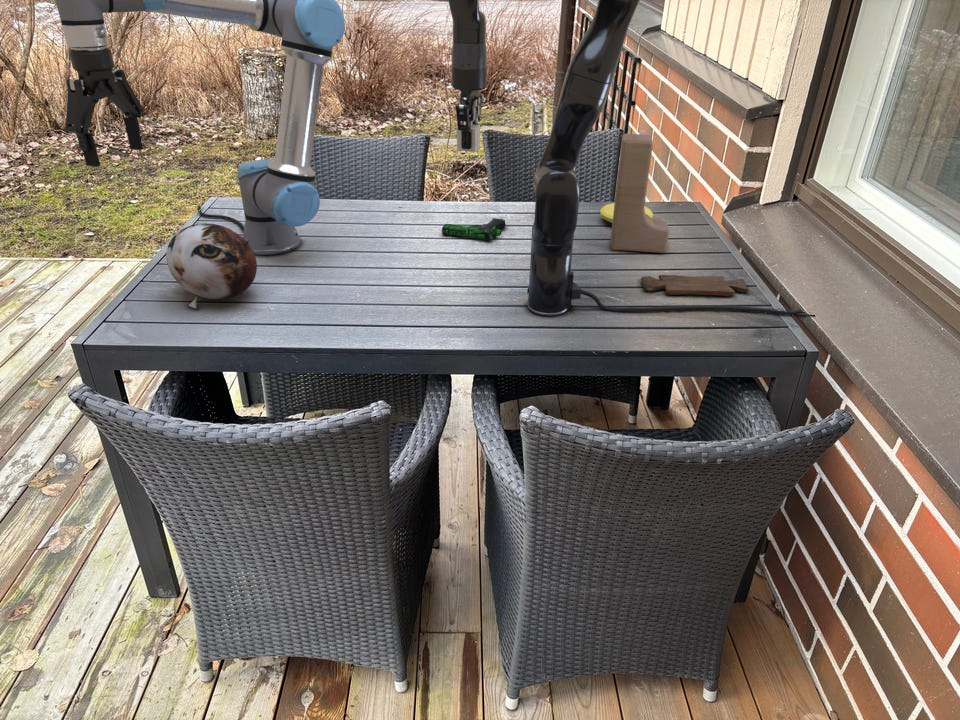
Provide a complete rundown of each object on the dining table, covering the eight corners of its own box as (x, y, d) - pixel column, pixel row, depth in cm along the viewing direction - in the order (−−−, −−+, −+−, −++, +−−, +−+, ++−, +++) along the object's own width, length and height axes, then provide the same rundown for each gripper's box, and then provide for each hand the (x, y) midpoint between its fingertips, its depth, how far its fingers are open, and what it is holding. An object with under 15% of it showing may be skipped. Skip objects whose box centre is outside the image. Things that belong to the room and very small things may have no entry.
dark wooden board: (752, 298, 172) (740, 281, 181) (754, 292, 171) (742, 275, 180) (645, 295, 172) (638, 278, 181) (646, 288, 172) (639, 271, 180)
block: (456, 150, 160) (456, 127, 158) (461, 145, 164) (461, 123, 161) (475, 151, 159) (475, 129, 157) (479, 147, 163) (480, 124, 160)
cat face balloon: (130, 285, 161) (164, 203, 163) (192, 308, 177) (221, 233, 178) (195, 307, 151) (229, 220, 152) (254, 330, 166) (285, 250, 168)
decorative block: (666, 254, 195) (683, 142, 180) (610, 250, 197) (623, 139, 181) (663, 244, 201) (680, 135, 186) (610, 240, 203) (622, 132, 188)
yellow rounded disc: (613, 210, 226) (616, 188, 222) (660, 220, 218) (663, 198, 214) (589, 223, 215) (592, 200, 211) (638, 235, 207) (641, 211, 203)
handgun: (511, 219, 210) (493, 234, 198) (511, 228, 211) (492, 244, 199) (461, 212, 215) (440, 226, 203) (461, 221, 217) (440, 236, 204)
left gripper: (58, 57, 128) (89, 174, 139) (146, 41, 149) (167, 144, 160) (23, 55, 130) (57, 171, 141) (115, 39, 151) (138, 141, 162)
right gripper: (478, 70, 146) (477, 155, 154) (493, 60, 158) (492, 139, 166) (442, 69, 147) (444, 153, 156) (461, 59, 159) (461, 137, 168)
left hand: (116, 157), depth 150 cm, fingers open, 13 cm apart
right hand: (469, 145), depth 161 cm, fingers closed on block, 4 cm apart
